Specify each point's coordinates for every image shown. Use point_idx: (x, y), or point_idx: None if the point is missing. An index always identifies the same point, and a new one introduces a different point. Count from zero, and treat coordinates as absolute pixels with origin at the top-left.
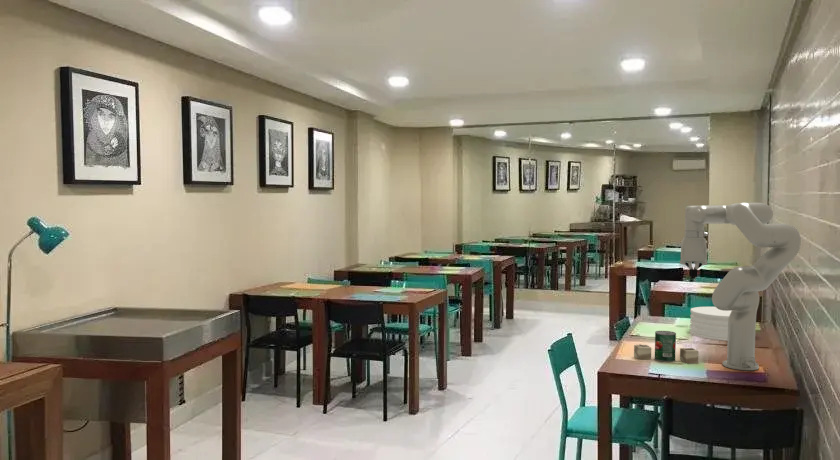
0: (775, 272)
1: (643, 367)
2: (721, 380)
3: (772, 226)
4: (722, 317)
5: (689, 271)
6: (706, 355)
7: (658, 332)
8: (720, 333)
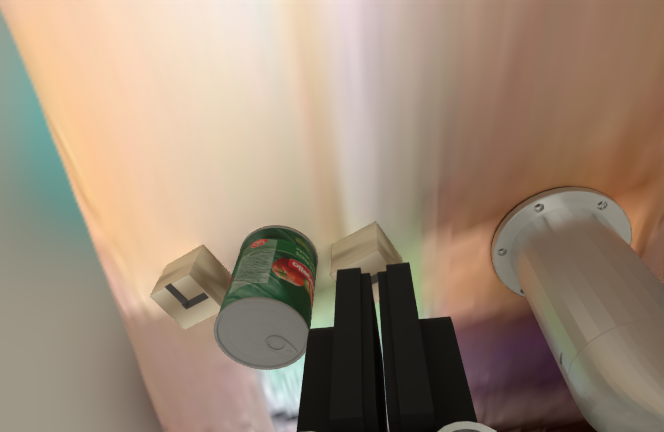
0: None
1: (242, 374)
2: None
3: None
4: None
5: (304, 408)
6: (435, 101)
7: (229, 332)
8: None
